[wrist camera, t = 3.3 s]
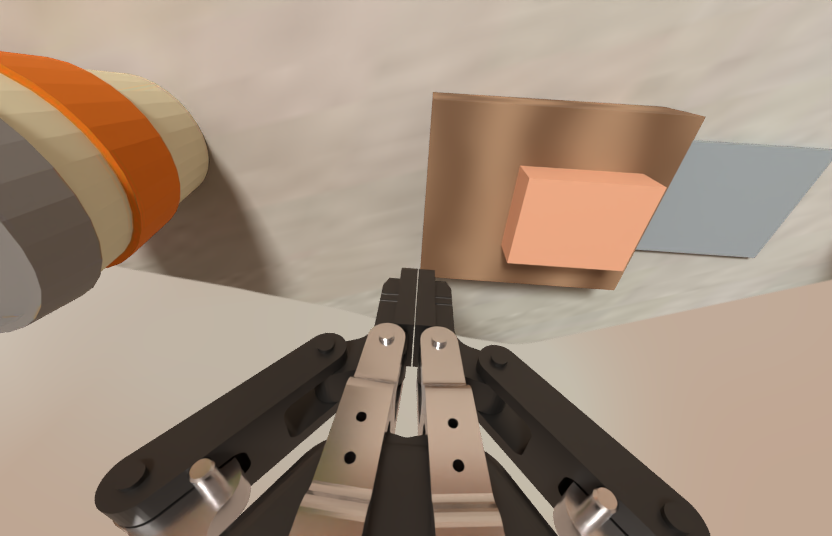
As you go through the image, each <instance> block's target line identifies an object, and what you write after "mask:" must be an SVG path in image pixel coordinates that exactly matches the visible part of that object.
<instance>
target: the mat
mask: <svg viewBox="0 0 832 536" xmlns="http://www.w3.org/2000/svg"><path fill="white" fill-rule="evenodd" d="M831 161H832V149H818V148H803V147H788V146H772V145H757V144H741V143H726V142H711V141H695V140H693V142H692V144H691V146H690V147H689V149H688V151H687V153H686V155H685V157H684V159H683V161H682V163H681V164H680V166H679V168H678V170H677V172H676V174H675V176H674V178H673V180H672V182H671V183H670V185H669V187H668V189H667V191H666V193H665V195H664V197H663V199H662V200H661V202H660V204H659V206H658V208H657V210H656V212H655V214H654V216H653V218H652V219H651V221H650V223H649V225H648V227H647V229H646V231H645V233H644V235H643V236H642V238H641V240H640V242H639V244H638V246H637V248H636V250H649V251H664V252H678V253H692V254H707V255H721V256H735V257H750V258H755V257H756V256H757V254H758V253H759V252H760V251H761V249H762V248H763V247H764V246H765V244H766V243H767V242H768V241H769V239H770V238H771V237H772V236H773V234H774V233H775V232H776V231H777V229H778V228H779V227H780V225H781V224H782V223H783V222H784V220H785V219H786V218H787V217H788V215H789V214H790V213H791V212H792V210H793V209H794V208H795V207H796V205H797V204H798V203H799V202H800V200H801V199H802V198H803V197H804V195H805V194H806V193H807V192H808V190H809V189H810V188H811V187H812V185H813V184H814V183H815V182H816V180H817V179H818V178H819V177H820V175H821V174H822V173H823V171H824V170H825V169H826V168H827V166H828V165H829V164H830V163H831Z"/></svg>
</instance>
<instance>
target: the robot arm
mask: <svg viewBox="0 0 832 536" xmlns="http://www.w3.org/2000/svg"><path fill="white" fill-rule="evenodd" d="M417 272H418V269H413V268H402V270H401V277H400V279H397V278H389V279H388V280H387V281H386V282H385V283H384V285H383V289H382V294H381V298H380V303H379V307H378V312H377V317H376V322H375V326H374V327H373V328H372V329H371V330H370V332H369V333H368V335H366V336H365V337H362V338H360V339H356V340H351V341H345V340H344V339H343V337H341V336H340V335H338V334H335V333H325V334H320V335H318V336H316V337H314V338H313V339H311V340H310V341H308V342H306V343H305V344H303V345H302V346H300V347H299V348H297V349H295V350H294V351H292V352H291V353H289V354H287V355H286V356H285V357H283V358H281V359H280V360H278V361H277V362H275V363H273V364H272V365H270V366H269V367H267V368H266V369H264V370H262V371H261V372H259V373H258V374H256V375H254V376H253V377H251V378H250V379H248V380H247V381H245V382H244V383H242V384H241V385H239V386H237V387H236V388H234V389H232V390H231V391H229V392H228V393H226V394H225V395H223V396H221V397H220V398H218V399H217V400H215V401H214V402H212V403H210V404H209V405H207V406H206V407H204V408H203V409H201V410H199V411H198V412H197V413H195V414H193V415H192V416H190V417H188V418H187V419H185V420H184V421H182V422H181V423H179V424H177V425H176V426H174V427H173V428H171V429H169V430H168V431H166V432H165V433H163V434H162V435H160V436H158V437H157V438H156V439H154V440H152V441H151V442H149V443H147V444H146V445H144V446H143V447H141V448H140V449H138V450H136V451H135V452H133V453H132V454H130V455H129V456H127V457H125V458H124V459H123V460H121V461H120V462H118V463H117V464H116V465H115V466H114V467H113V468H112V469H111V470H110V471H109V472H108V473H107V474H106V475H105V477H104V478H103V479H102V481H101V482H100V484H99V486H98V488H97V491H96V494H95V504H96V507H97V509H98V510H100V511H101V512H102V513H104V514H105V515H106V516H108V517H109V518H110V519H112V520H113V522H114V524H115V525H116V526H117V527H119V528H120V529H122V530H123V531H124V532H126V533H127V534H128V535H129V536H558V535H557V534H556V533H555V532H554V530H553V529H552V528H551V527H550V525H548V523H547V522H546V520H545V519H544V518H543V516H542V515H541V514H540V513H539V512H538V510H537V509H536V508H535V507H534V505H533V504H532V503H531V501H530V500H529V499H528V498H527V496H526V495H525V494H524V493H523V491H522V490H521V489H520V488H519V486H518V485H517V484H516V483H515V481H514V480H513V479H512V478H511V476H510V475H509V474H508V473H507V471H506V470H505V469H504V468H503V466H501V464H500V463H499V462H498V461H497V460H496V459H494V458H493V457H492V456H491V455H489V454H488V453H487V452H485V451H484V448H483V443H482V438H481V433H480V428H479V423H480V425H481V426H482V427H483V428H484V429H485V430H486V432H487V433H488V434H489V435H490V436H491V437H492V438H493V440H495V442H496V443H497V444H498V445H499V446H500V448H501V449H502V450H503V451H504V452H505V453H506V454H507V455H508V457H509V458H510V459H511V460H512V461H513V462H514V463H515V464H516V466H517V467H518V468H519V469H520V470H521V471H522V473H523V474H524V475H525V476H526V477H527V478H528V479H529V480H530V482H531V483H532V484H533V485H534V486H535V487H536V489H537V490H538V491H539V492H540V493H541V494H542V495H543V497H544V498H545V499H546V500H547V501H548V502H549V503H550V504H551V506H552V507H553V508H554V512H553V518H554V524H555V527H556V530H557V532H558V534H559V536H710V533H709V530H708V528H707V526H706V524H705V522H704V520H703V519H702V517H701V516H700V514H699V513H698V512H697V511H696V509H694V507H693V506H692V505H691V504H690V503H689V502H688V501H686V500H685V499H684V498H683V497H682V496H681V495H679V494H678V493H677V492H676V491H675V490H674V489H672V488H671V487H670V486H669V485H668V484H666V483H665V482H664V481H663V480H662V479H661V478H660V477H658V476H657V475H656V474H655V473H654V472H652V471H651V470H650V469H649V468H648V467H647V466H645V465H644V464H643V463H642V462H640V461H639V460H638V459H637V458H636V457H635V456H634V455H632V454H631V453H630V452H629V451H628V450H627V449H625V448H624V447H623V446H622V445H621V444H620V443H618V442H617V441H616V440H615V439H614V438H612V437H611V436H610V435H609V434H608V433H607V432H605V431H604V430H603V429H602V428H600V427H599V426H598V425H597V424H596V423H595V422H594V421H592V420H591V419H590V418H589V417H588V416H587V415H585V414H584V413H583V412H582V411H581V410H579V409H578V408H577V407H576V406H575V405H574V404H572V403H571V402H570V401H569V400H568V399H566V398H565V397H564V396H563V395H562V394H561V393H559V392H558V391H557V390H556V389H555V388H554V387H552V386H551V385H550V384H549V383H548V382H547V381H545V380H544V379H543V378H542V377H541V376H539V375H538V374H537V373H536V372H535V371H534V370H532V369H531V368H530V367H529V366H528V365H527V364H525V363H524V362H523V361H522V360H521V359H519V358H518V357H517V356H516V355H515V354H514V353H512V352H511V351H510V350H508V349H507V348H505V347H502V346H497V345H490V346H486V347H484V348H483V349H482V350H481V351H480V350H477V349H474V348H471V347H469V346H467V345H465V344H463V343H462V342H461V341H460V340H459V339H458V338H457V336H456V335H455V331H454V320H453V307H452V295H451V288H450V287H449V286H448V284H447V283H446V282H442V281H435V270H428V269H419V278H418V292H417V306H416V322H415V337H414V354H413V367H414V366H415V367H418V369H417V384H416V387H417V414H418V436H414V437H409V438H405V437H401V436H399V435H395V427H396V421H397V415H398V410H399V404H400V399H401V393H402V387H403V380H404V378H405V372H406V366H411V359H412V344H413V330H414V316H415V301H416V287H417ZM335 413H336V415H335V418H334V421H333V423H332V427H331V429H330V432H329V435H328V438H327V440H325V441H323V442H321V443H319V444H318V445H316V446H314V447H313V448H312V449H310V450H309V451H308V452H306V453H305V454H304V455H303V456H302V457H301V458H300V459H299V460H298V461H297V462H296V463H295V464H294V465H293V466H292V467H291V468H289V470H287V471H286V472H285V473H284V474H283V475H282V476H281V477H280V478H279V479H278V480H277V481H276V482H275V483H274V484H273V485H272V486H271V487H269V488H268V489H267V490H266V492H264V493H263V494H262V495H261V496H260V497H259V498H258V499H257V500H256V501H255V502H254V503H253V504H252V505H250V507H248V508H247V509H246V510H245V511H244V512H243V513H242V511H243V510H244V508H245V507H246V505H247V503H248V500H249V497H250V492H251V486H252V485H253V483H255V482H256V481H257V480H259V479H260V478H261V477H262V476H263V475H264V474H265V473H267V472H268V471H269V470H270V469H271V468H272V467H274V466H275V465H276V464H277V463H278V462H279V461H280V460H282V459H283V458H284V457H285V456H286V455H287V454H289V453H290V452H291V451H292V450H293V449H294V448H296V447H297V446H298V445H299V444H300V443H301V442H302V441H304V440H305V439H306V438H307V437H308V436H310V435H311V434H312V433H313V432H314V431H315V430H317V429H318V428H319V427H320V426H321V425H322V424H323V423H325V422H326V421H327V420H328V419H329V418H331V417H332V416H333V415H334V414H335ZM478 422H479V423H478ZM241 513H242V514H241ZM240 514H241V515H240ZM239 515H240V516H239ZM238 516H239V517H238ZM237 517H238V518H237ZM236 518H237V519H236ZM235 519H236V520H235Z"/></svg>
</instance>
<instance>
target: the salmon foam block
mask: <svg viewBox="0 0 832 536" xmlns="http://www.w3.org/2000/svg"><path fill="white" fill-rule="evenodd" d="M666 188H667V187H665V186H663V185H662V184H660V183H658V182H657V181H655V180H653V179H651V178H650V177H648V176H646V175H645V174H638V173H623V172H608V171H593V170H578V169H563V168H548V167H533V166H520V168H519V172H518V176H517V180H516V185H515V189H514V193H513V197H512V201H511V206H510V210H509V214H508V218H507V222H506V227H505V231H504V235H503V239H502V243H501V246H502V249H503V252H504V255H505V258H506V261H507V263H513V264H528V265H542V266H556V267H570V268H584V269H598V270H612V271H623V270H624V268H625V266H626V264H627V262H628V261H629V259H630V257H631V255H632V253H633V251H634V249H635V247H636V245H637V243H638V241H639V240H640V238H641V236H642V234H643V232H644V230H645V228H646V226H647V224H648V222H649V221H650V219H651V217H652V215H653V213H654V211H655V209H656V207H657V205H658V203H659V201H660V200H661V198H662V196H663V194H664V192H665V190H666Z"/></svg>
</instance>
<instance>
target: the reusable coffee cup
mask: <svg viewBox="0 0 832 536" xmlns="http://www.w3.org/2000/svg"><path fill="white" fill-rule="evenodd" d="M208 165H209V156H208V149H207V146H206V143H205V139H204V136H203V135H202V133H201V131H200V129H199V127H198V125H197V123H196V122H195V120H194V119H193V117H192V116H191V115H190V113H189V112H188V111H187V110H186V109H185V107H184V106H183V105H182V104H181V103H180V102H179V101H178V100H177V99H176V98H174V97H173V96H172V95H171V94H170V93H169V92H167V91H166V90H164V89H163V88H161V87H160V86H158V85H157V84H155V83H153V82H151V81H149V80H147V79H144V78H142V77H139V76H135V75H131V74H126V73H117V72H107V71H97V70H87V69H82V68H79V67H77V66H75V65H73V64H70V63H68V62H64V61H60V60H56V59H53V58H49V57H42V56H34V55H26V54H18V53H10V52H2V51H0V333H3V332H11V331H14V330H17V329H20V328H23V327H25V326H27V325H29V324H31V323H33V322H35V321H36V320H38V319H40V318H42V317H44V316H45V315H47V314H49V313H51V312H53V311H54V310H57V309H58V308H60V307H62V306H64V305H66V304H67V303H69V302H71V301H73V300H75V299H77V298H78V297H80V296H82V295H83V294H85V293H86V292H87V291H89V290H90V289H91V288H93V287H94V285H95V283H96V282H97V280H98V278H99V277H100V274H101V271H102V270H103V269H105V268H109V267H111V266H114V265H117V264H120V263H122V262H123V261H125V260H126V259H127V258H129V257H130V256H131V255H132V254H133V253H134V252H136V251H137V250H138V249H139V248H140V247H141V246H142V245H143V244H144V243H145V242H147V241H148V240H149V239H150V238H151V237H152V236H153V235H154V234H155V233H156V232H157V231H159V230H160V229H161V228H162V227H163V226H164V225H165V224H166V223H167V222H168V221H169V220H171V218H172V217H173V215H174V214H175V212H176V211H177V208H178V205H179V203H180V202H181V201H182V200H183V199H184V198H186V197H187V196H188V195H189V194H190V193H191V192H192V191H193V190H195V189H196V188H197V187H198V186H199V185H200V184H201V183H202V182H203V180H204V179H205V177H206V174H207V171H208Z"/></svg>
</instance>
